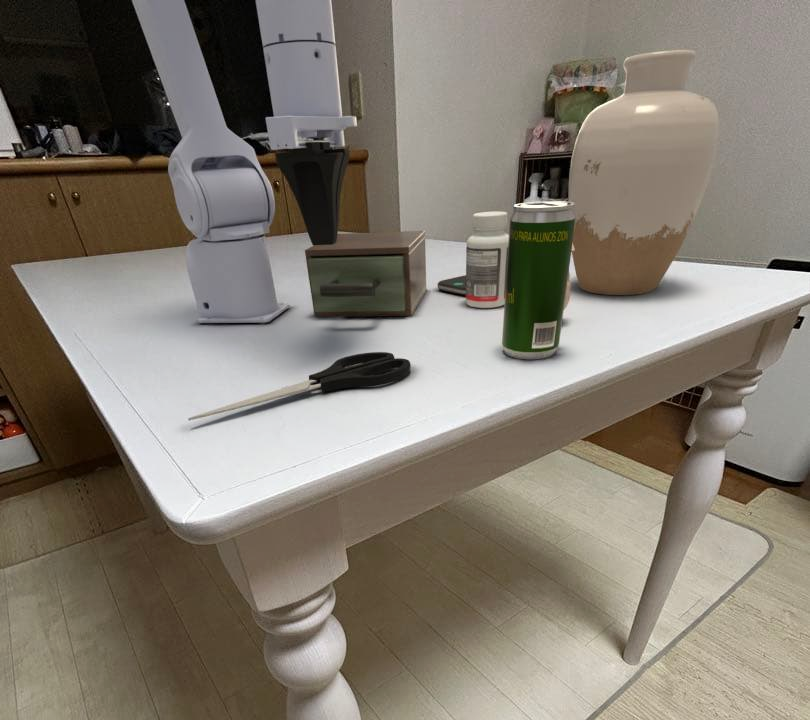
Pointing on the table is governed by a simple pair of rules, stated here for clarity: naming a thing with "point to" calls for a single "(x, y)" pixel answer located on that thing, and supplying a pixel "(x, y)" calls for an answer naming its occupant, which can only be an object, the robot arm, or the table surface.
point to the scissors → (336, 378)
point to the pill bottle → (487, 260)
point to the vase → (640, 175)
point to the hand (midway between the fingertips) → (324, 244)
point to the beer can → (537, 277)
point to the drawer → (358, 283)
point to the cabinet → (380, 244)
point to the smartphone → (454, 285)
